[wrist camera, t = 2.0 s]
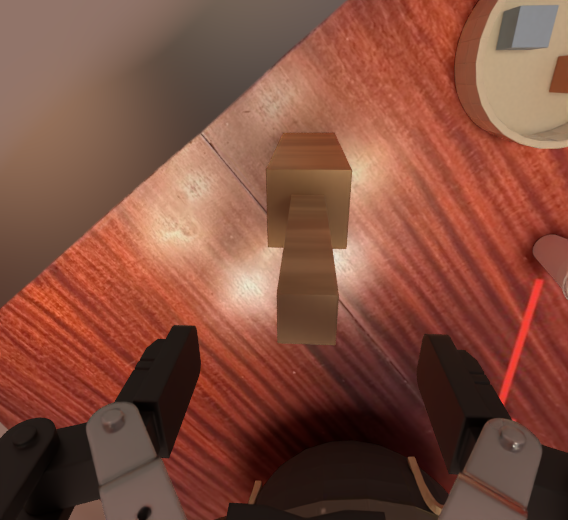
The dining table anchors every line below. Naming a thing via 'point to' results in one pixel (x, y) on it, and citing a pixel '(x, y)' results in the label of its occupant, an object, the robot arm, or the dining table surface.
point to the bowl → (352, 483)
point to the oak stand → (308, 183)
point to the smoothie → (554, 258)
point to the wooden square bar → (307, 276)
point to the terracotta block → (560, 76)
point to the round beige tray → (512, 78)
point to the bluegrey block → (527, 27)
